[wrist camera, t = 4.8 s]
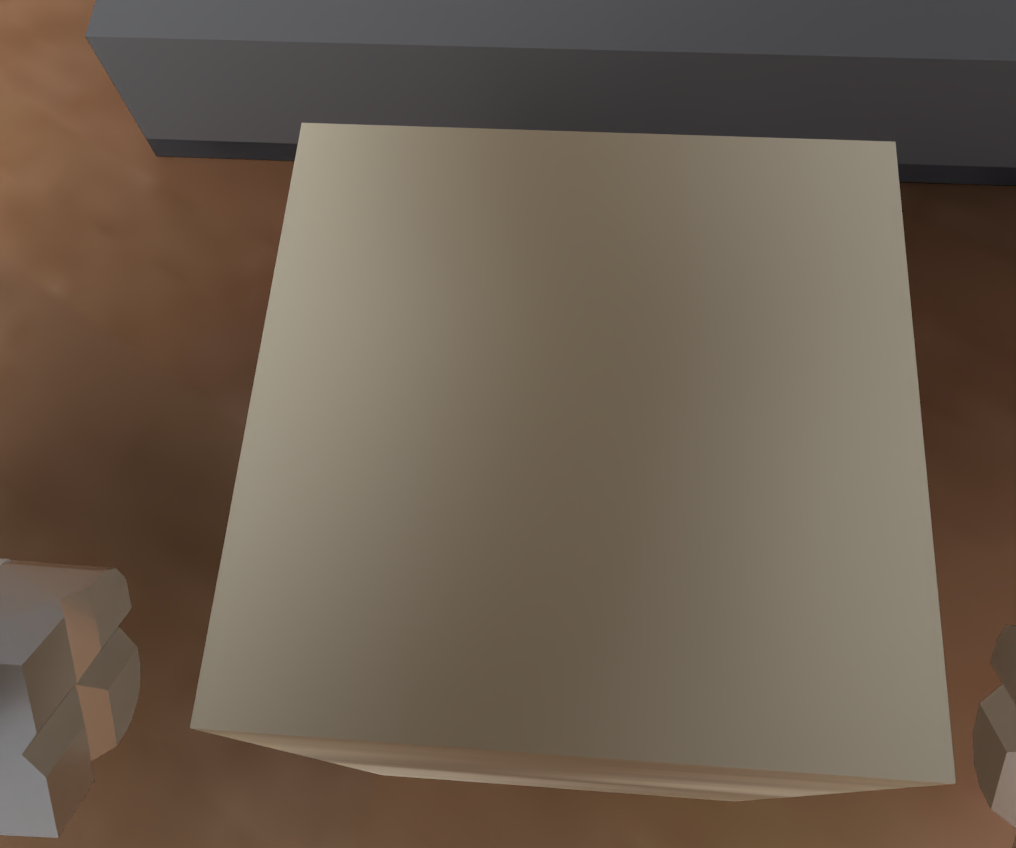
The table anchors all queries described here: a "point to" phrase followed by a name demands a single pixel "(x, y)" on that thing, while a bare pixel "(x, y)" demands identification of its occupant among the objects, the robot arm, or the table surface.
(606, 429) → the birch block
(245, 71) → the tray
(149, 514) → the table surface
